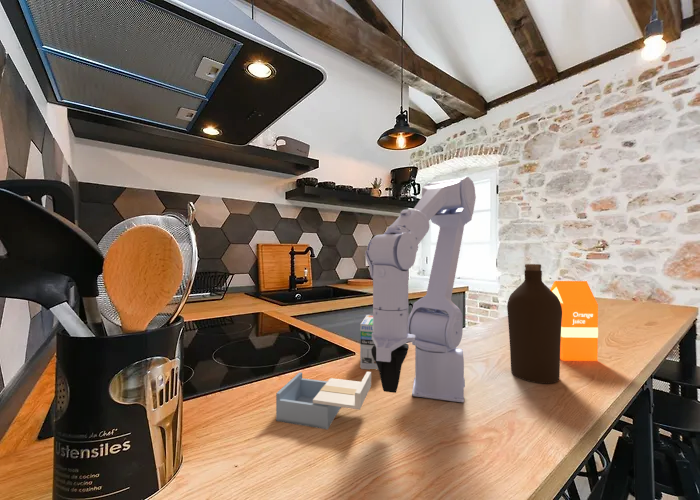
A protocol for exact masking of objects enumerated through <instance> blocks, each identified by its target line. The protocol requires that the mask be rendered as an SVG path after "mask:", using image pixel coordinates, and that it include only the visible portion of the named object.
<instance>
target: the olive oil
mask: <svg viewBox="0 0 700 500" xmlns="http://www.w3.org/2000/svg"><path fill="white" fill-rule="evenodd" d="M524 268H525V269H524V270H523V271H524V281H523V282H522V283H521V284H520V285H519V286H517V288H516V289H515V290H514V291H512V292H511V294H510V295H509V296H508V297H509V298H508V301H507V305H506V308H507V309H506V310H507V322H508V323H507V324H508V336H509V351H510V352H509V355H510V357H509V358H510V372H511V373H512V374H513V375H514V376H515V377H516V378H518V379H521V380H524V381H527V382H531V383H538V384H553V383H554V384H555V383H558V381H559V380H560V375H561V374H560V369H561V367H560V365H561V359H560V345H561V324H562V307H561V304H560V301H559V299H558V297H557V296H556V295H555V294H554V293H553V292H552V291H551V290H550V289H551V288H549V286H547V285H546V284H545V283H544V282H543V280H542V279H543V271H542V269H541V268H542V264H540V263H525V264H524Z"/></svg>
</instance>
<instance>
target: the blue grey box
mask: <svg viewBox="0 0 700 500" xmlns="http://www.w3.org/2000/svg"><path fill="white" fill-rule="evenodd" d="M327 382H328V380H318V379H311V378H303V372H301V371H300V372H298V373H296V374H295V376H294V377H292V378H291V379H290V380H289V381H288V382H286V384H285V385H284V386H283V387H282V388H281V389H279V390H278V391H277V392H276V396H275V399H276V400H275V401H276V402H275V403H276V404H275V405H276V407H275V408H276V409H275V411H276V413H275V416H276V417H275V418H276V419H275V420H276V422H281V423H285V424H286V423H287V424H292V425H298V426H302V427H303V426H304V427H309V428H310V427H311V428H316V429H322V430H327V431H328V430H329V428H330V427H331V424H332V423H333V422H334V420H335V418H336V417H337V415H338V413H339V412H340V410H341V408H342V407H338V406H331V405H324V404H317V403H313V399H314V398H315V396H316V395H317V394H318V393H319V391H320V390H321V388H322V387H323V386H324V385H325V384H326V383H327Z"/></svg>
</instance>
